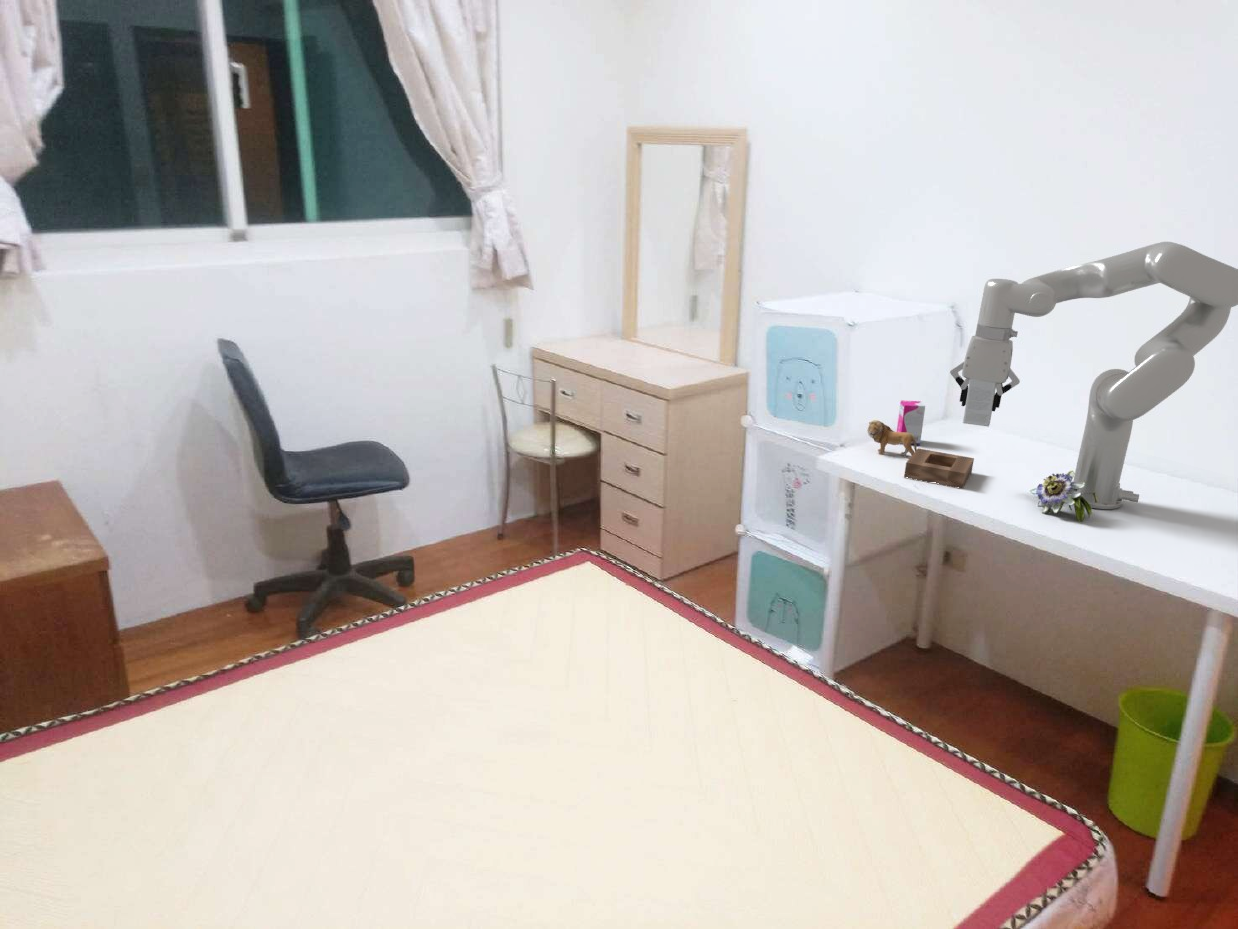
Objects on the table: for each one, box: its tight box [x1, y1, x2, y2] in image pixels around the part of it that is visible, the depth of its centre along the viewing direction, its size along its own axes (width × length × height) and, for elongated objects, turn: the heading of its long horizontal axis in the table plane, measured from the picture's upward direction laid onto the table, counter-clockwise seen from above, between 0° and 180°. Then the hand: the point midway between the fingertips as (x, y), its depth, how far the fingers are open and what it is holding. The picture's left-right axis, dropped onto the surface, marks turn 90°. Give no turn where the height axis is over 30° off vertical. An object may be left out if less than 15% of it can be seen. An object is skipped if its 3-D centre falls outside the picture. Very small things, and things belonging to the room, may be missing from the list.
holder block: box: [903, 448, 975, 489], centre depth 227 cm, size 14×14×4 cm
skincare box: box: [962, 378, 997, 428], centre depth 215 cm, size 6×4×12 cm
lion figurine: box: [867, 420, 918, 460], centre depth 241 cm, size 15×5×9 cm, turn 72°
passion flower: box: [1029, 470, 1098, 523], centre depth 205 cm, size 11×11×12 cm
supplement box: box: [896, 399, 926, 446], centre depth 252 cm, size 6×6×12 cm
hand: (978, 406), depth 215 cm, fingers closed on skincare box, 6 cm apart
